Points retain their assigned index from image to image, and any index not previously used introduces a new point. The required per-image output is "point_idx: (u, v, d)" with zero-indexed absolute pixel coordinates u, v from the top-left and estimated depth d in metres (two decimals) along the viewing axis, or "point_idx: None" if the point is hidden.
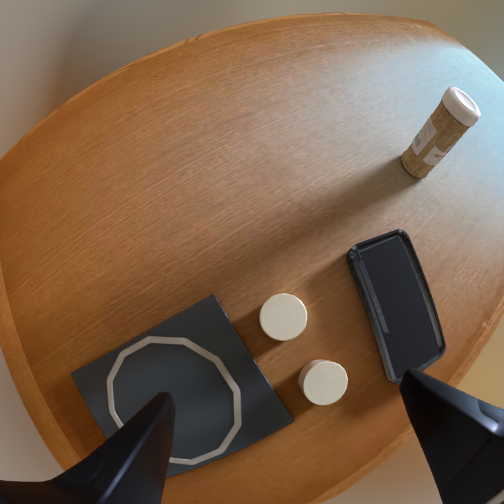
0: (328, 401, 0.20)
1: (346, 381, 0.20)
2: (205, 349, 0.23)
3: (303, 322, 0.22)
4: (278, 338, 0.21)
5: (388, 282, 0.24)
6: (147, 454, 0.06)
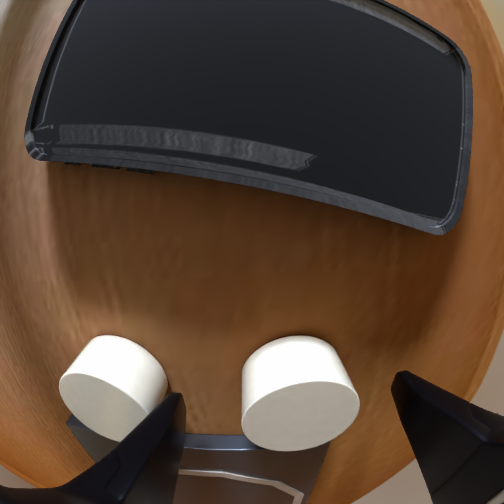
0: (343, 426, 0.08)
1: (338, 386, 0.07)
2: None
3: (124, 396, 0.07)
4: None
5: (158, 66, 0.06)
6: (160, 456, 0.06)
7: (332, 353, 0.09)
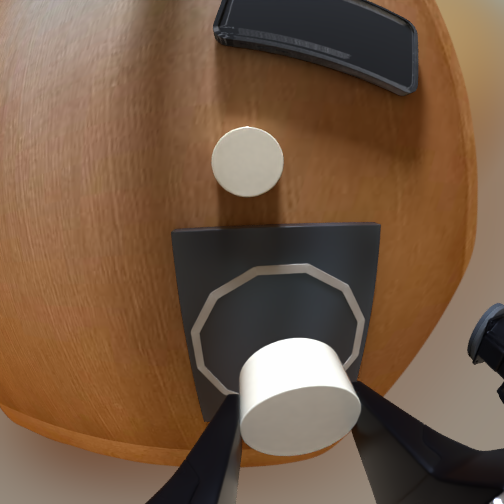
0: (344, 430, 0.07)
1: (339, 391, 0.07)
2: (236, 276, 0.18)
3: (270, 140, 0.14)
4: (272, 184, 0.15)
5: (288, 17, 0.13)
6: (232, 461, 0.06)
7: (333, 356, 0.08)
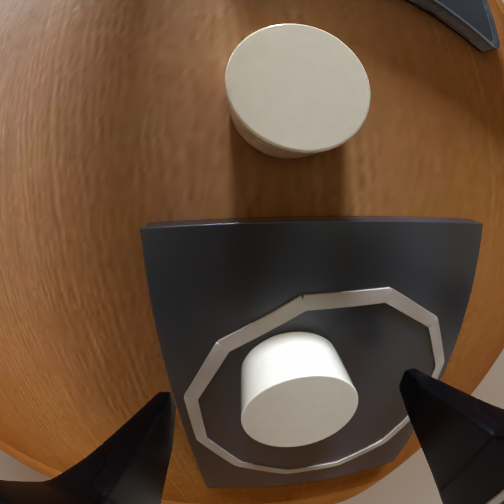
0: (342, 421, 0.08)
1: (336, 381, 0.07)
2: (265, 313, 0.09)
3: (344, 50, 0.06)
4: (352, 130, 0.06)
5: None
6: (147, 454, 0.06)
7: (330, 349, 0.09)
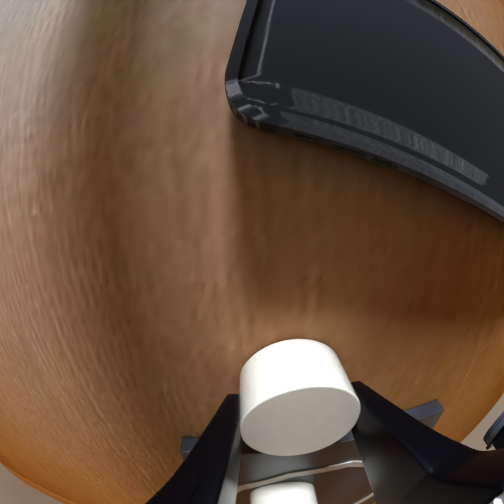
0: None
1: None
2: (266, 478, 0.11)
3: (346, 398, 0.07)
4: (333, 441, 0.08)
5: (400, 71, 0.06)
6: (232, 461, 0.06)
7: (307, 491, 0.10)
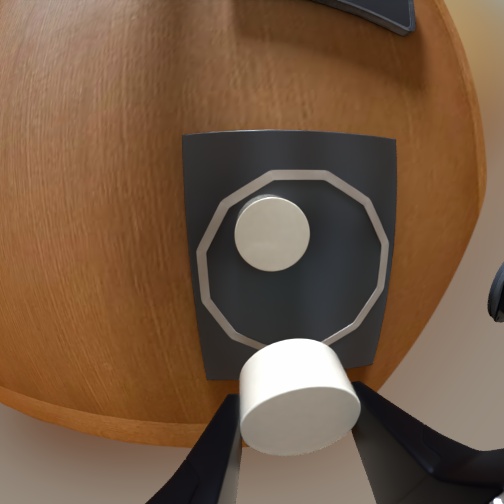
0: (301, 246, 0.14)
1: (290, 204, 0.14)
2: (250, 181, 0.16)
3: (346, 398, 0.07)
4: (333, 441, 0.08)
5: None
6: (233, 461, 0.06)
7: None
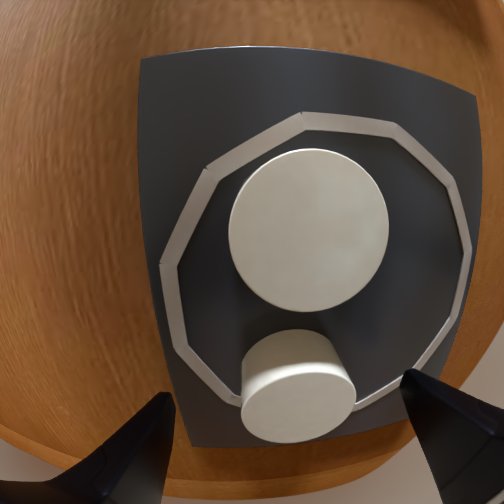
0: (372, 259, 0.06)
1: (354, 167, 0.06)
2: (261, 131, 0.08)
3: (342, 385, 0.07)
4: (331, 428, 0.08)
5: None
6: (147, 454, 0.06)
7: None
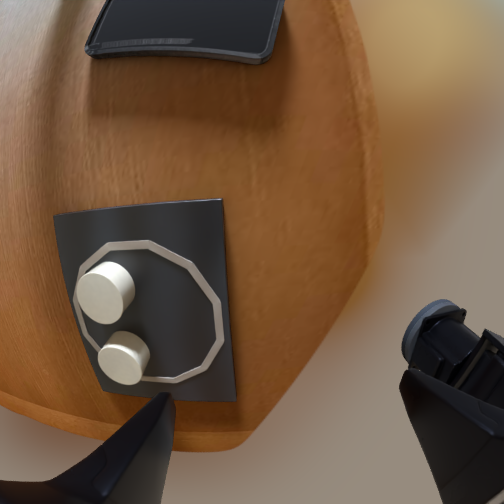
0: (118, 308, 0.17)
1: (104, 278, 0.16)
2: (95, 251, 0.18)
3: (129, 357, 0.18)
4: (137, 380, 0.18)
5: (142, 21, 0.13)
6: (147, 454, 0.06)
7: (119, 270, 0.18)
